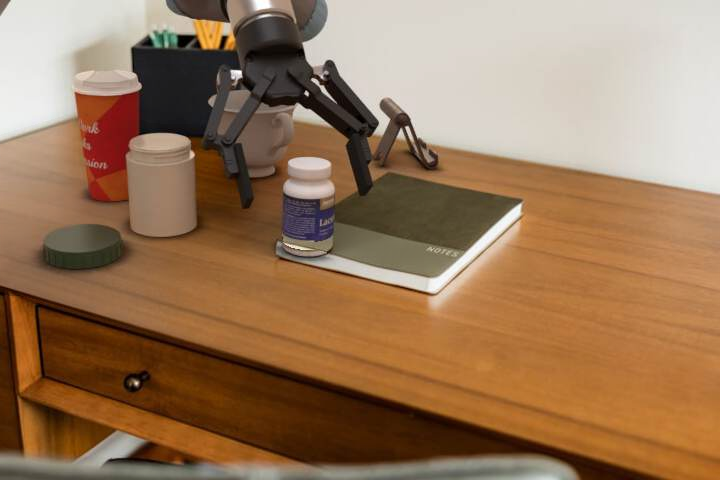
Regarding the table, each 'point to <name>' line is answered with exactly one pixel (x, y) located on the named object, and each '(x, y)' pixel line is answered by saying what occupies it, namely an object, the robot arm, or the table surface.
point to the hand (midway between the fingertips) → (309, 197)
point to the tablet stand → (401, 121)
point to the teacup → (259, 132)
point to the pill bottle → (308, 203)
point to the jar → (161, 185)
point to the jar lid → (82, 246)
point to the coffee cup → (107, 128)
